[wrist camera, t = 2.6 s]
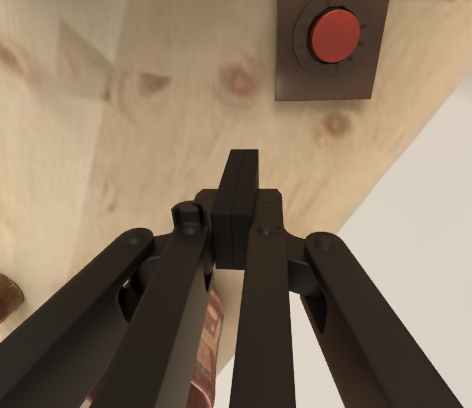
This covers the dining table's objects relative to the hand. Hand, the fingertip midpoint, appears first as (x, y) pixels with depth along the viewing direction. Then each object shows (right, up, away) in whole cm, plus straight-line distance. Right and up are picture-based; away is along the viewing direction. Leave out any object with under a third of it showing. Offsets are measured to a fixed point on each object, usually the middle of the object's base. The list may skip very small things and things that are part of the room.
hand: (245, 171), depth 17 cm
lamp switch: (+8, +14, +10) cm, 19 cm away
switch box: (+9, +16, +13) cm, 22 cm away
